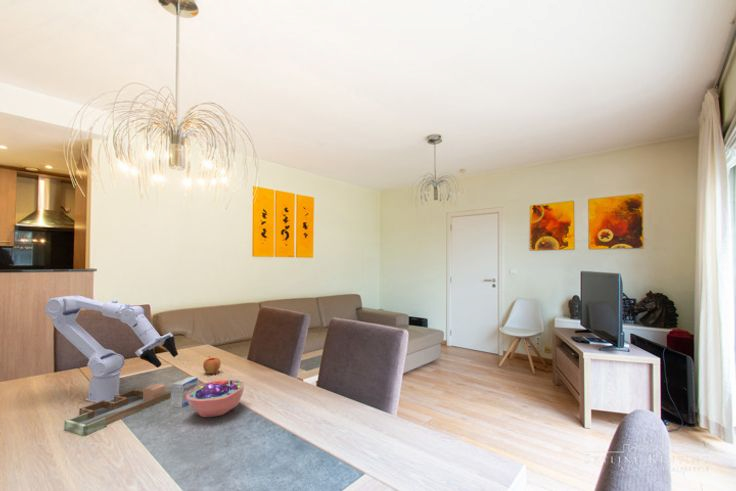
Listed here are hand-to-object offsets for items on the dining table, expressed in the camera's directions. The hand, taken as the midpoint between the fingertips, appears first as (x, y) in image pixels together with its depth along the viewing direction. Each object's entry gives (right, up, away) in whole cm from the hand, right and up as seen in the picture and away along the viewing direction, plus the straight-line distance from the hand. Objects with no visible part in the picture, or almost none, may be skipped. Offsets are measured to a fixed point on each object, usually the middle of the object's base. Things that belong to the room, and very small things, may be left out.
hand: (168, 360), depth 127 cm
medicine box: (+9, -15, -4) cm, 18 cm away
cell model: (+23, -15, -11) cm, 30 cm away
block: (-4, -14, -2) cm, 14 cm away
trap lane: (-11, -14, -12) cm, 21 cm away
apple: (+3, -16, +28) cm, 33 cm away
